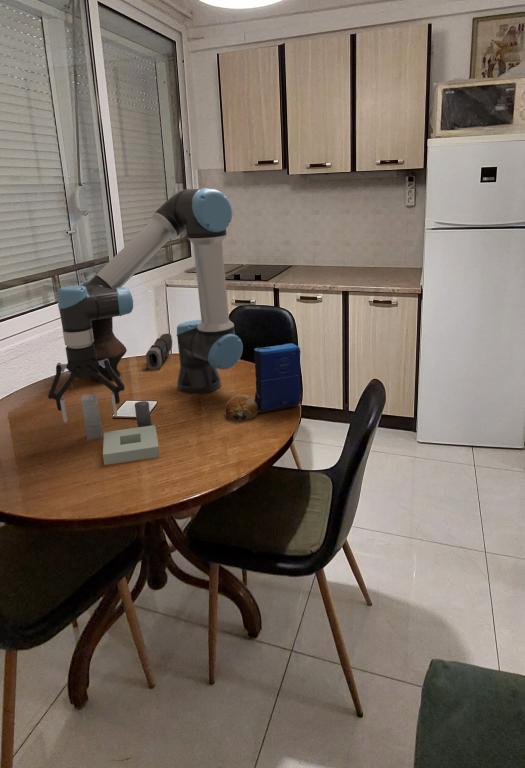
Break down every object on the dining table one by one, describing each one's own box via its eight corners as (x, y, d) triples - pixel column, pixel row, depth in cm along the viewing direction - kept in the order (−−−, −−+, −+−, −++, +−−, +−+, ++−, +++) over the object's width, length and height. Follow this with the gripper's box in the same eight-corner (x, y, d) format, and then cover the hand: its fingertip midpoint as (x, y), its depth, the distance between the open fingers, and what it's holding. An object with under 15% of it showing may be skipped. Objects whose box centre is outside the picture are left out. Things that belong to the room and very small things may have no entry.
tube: (180, 354, 240) (165, 368, 210) (165, 358, 240) (148, 373, 211) (172, 330, 237) (155, 341, 208) (157, 334, 238) (139, 346, 209)
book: (258, 415, 166) (256, 351, 159) (252, 409, 171) (250, 346, 164) (301, 407, 171) (302, 345, 164) (294, 401, 176) (294, 340, 169)
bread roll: (262, 424, 169) (266, 398, 169) (244, 422, 160) (249, 395, 160) (235, 418, 174) (239, 393, 174) (216, 416, 165) (221, 390, 165)
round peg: (151, 425, 164) (148, 400, 161) (152, 431, 160) (149, 405, 157) (137, 427, 163) (134, 402, 160) (138, 433, 159) (134, 407, 156)
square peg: (102, 432, 161) (96, 393, 157) (102, 438, 157) (95, 398, 153) (88, 434, 160) (81, 395, 156) (87, 440, 156) (80, 400, 152)
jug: (91, 368, 217) (79, 292, 207) (136, 368, 215) (126, 291, 204) (66, 387, 198) (51, 305, 187) (116, 388, 195) (103, 304, 185)
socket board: (156, 434, 157) (155, 425, 156) (159, 456, 145) (158, 446, 144) (105, 441, 155) (104, 432, 153) (104, 465, 142) (102, 454, 141)
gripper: (127, 336, 155) (135, 407, 162) (32, 345, 150) (45, 417, 157) (127, 343, 148) (136, 416, 155) (28, 353, 143) (42, 428, 150)
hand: (90, 417), depth 156 cm, fingers open, 13 cm apart
